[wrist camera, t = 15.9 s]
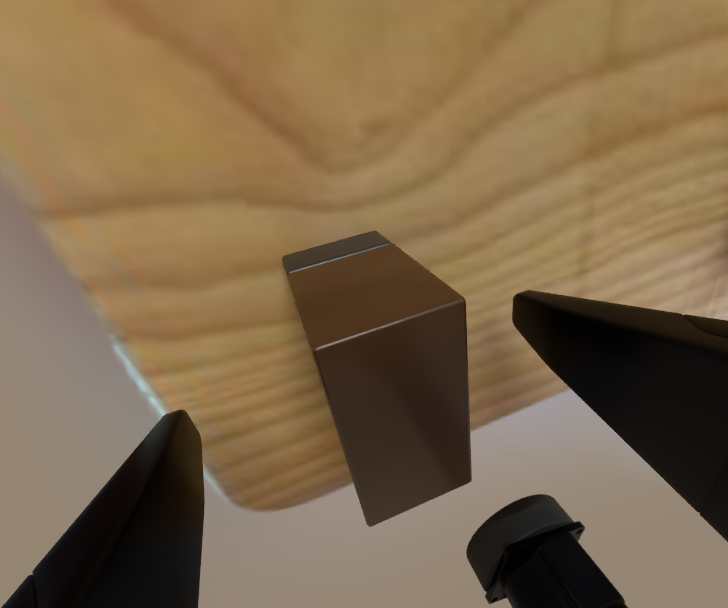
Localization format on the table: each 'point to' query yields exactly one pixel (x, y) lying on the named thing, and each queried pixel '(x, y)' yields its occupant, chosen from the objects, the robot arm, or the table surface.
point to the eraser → (388, 368)
